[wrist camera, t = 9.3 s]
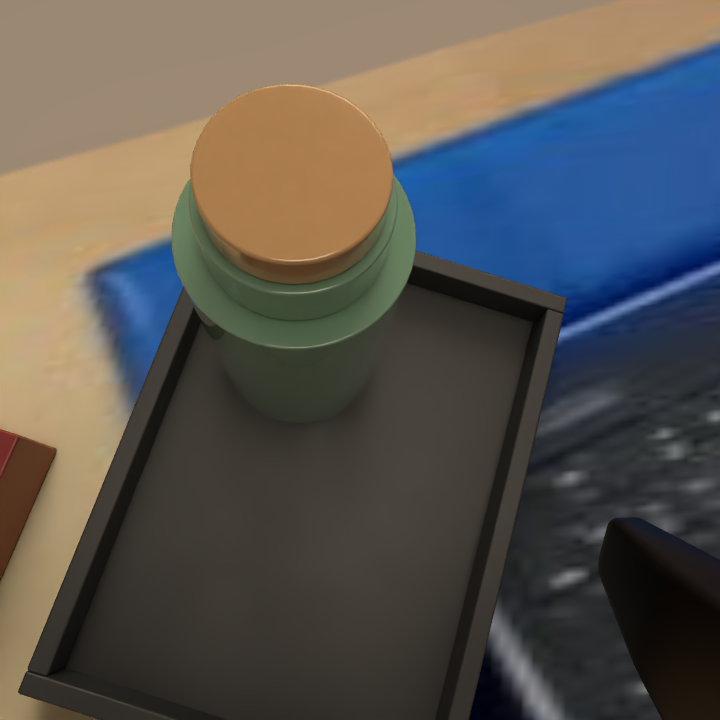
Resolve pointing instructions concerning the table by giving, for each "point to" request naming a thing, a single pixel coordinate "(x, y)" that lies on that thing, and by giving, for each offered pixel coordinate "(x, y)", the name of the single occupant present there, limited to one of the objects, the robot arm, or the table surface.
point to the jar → (294, 247)
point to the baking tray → (309, 526)
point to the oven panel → (18, 485)
